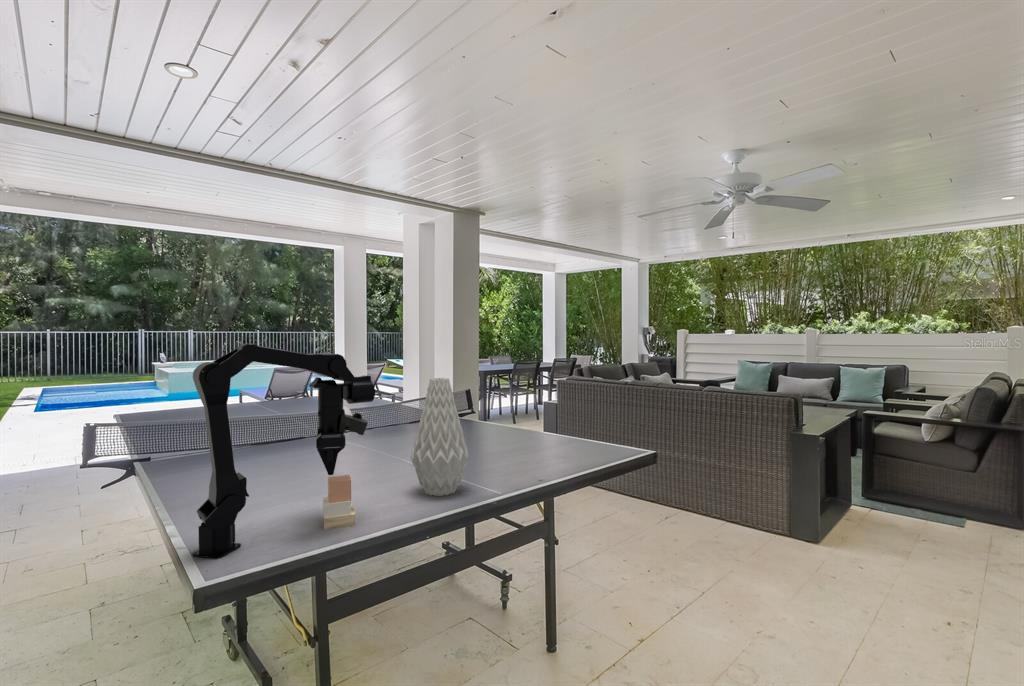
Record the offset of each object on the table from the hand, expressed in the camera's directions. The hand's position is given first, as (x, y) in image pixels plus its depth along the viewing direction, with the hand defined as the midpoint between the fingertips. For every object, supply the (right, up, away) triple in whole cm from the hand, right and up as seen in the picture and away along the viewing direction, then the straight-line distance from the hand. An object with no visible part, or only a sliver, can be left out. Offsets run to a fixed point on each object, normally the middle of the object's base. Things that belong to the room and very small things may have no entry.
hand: (330, 470), depth 122 cm
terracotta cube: (+2, -7, +1) cm, 7 cm away
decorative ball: (-40, -12, +125) cm, 132 cm away
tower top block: (+1, -10, 0) cm, 10 cm away
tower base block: (+2, -13, 0) cm, 13 cm away
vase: (+23, -13, +25) cm, 36 cm away
